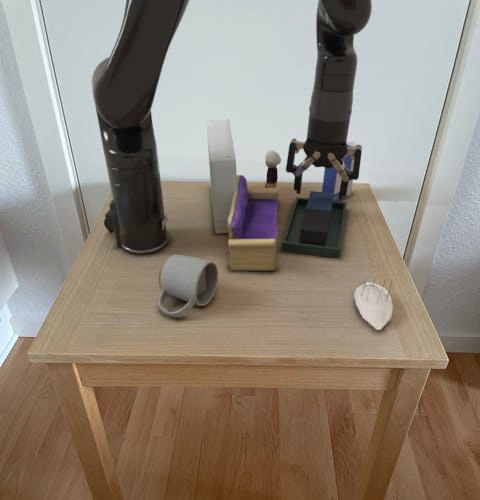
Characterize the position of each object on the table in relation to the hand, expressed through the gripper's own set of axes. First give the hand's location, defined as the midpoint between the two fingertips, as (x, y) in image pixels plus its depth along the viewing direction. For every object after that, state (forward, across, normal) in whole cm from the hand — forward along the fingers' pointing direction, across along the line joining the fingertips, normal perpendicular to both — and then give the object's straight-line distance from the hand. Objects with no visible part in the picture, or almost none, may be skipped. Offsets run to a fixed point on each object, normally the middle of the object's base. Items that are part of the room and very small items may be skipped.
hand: (319, 194), depth 100 cm
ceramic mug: (+7, +19, +31) cm, 37 cm away
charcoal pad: (+6, 0, +7) cm, 9 cm away
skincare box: (+7, +20, -1) cm, 22 cm away
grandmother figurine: (+7, +11, -5) cm, 13 cm away
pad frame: (+6, 0, +3) cm, 7 cm away
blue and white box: (+6, -3, -12) cm, 14 cm away
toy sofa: (+7, +11, +11) cm, 17 cm away
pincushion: (+7, -12, +26) cm, 30 cm away
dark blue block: (+6, 0, -1) cm, 6 cm away
